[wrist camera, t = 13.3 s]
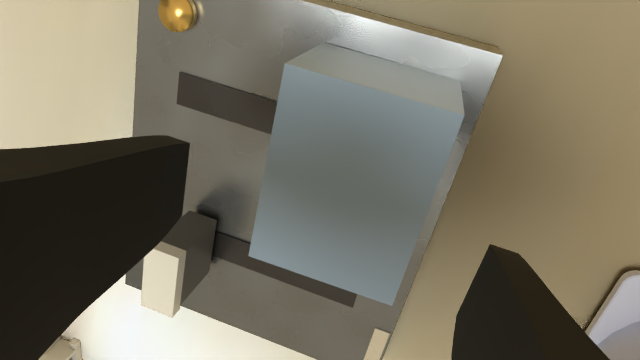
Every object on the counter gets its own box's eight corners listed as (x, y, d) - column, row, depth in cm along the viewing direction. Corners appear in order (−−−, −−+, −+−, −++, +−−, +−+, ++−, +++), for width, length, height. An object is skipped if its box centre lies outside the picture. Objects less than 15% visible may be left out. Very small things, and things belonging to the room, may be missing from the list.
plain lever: (218, 219, 18) (178, 258, 16) (210, 273, 20) (172, 317, 17) (188, 208, 19) (144, 245, 16) (182, 262, 20) (140, 305, 17)
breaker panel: (498, 46, 15) (503, 57, 13) (380, 348, 22) (371, 388, 19) (174, -42, 17) (133, -44, 15) (150, 260, 23) (119, 288, 21)
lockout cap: (460, 80, 14) (464, 114, 11) (403, 236, 17) (391, 306, 13) (323, 42, 15) (284, 63, 11) (289, 198, 17) (248, 256, 14)
